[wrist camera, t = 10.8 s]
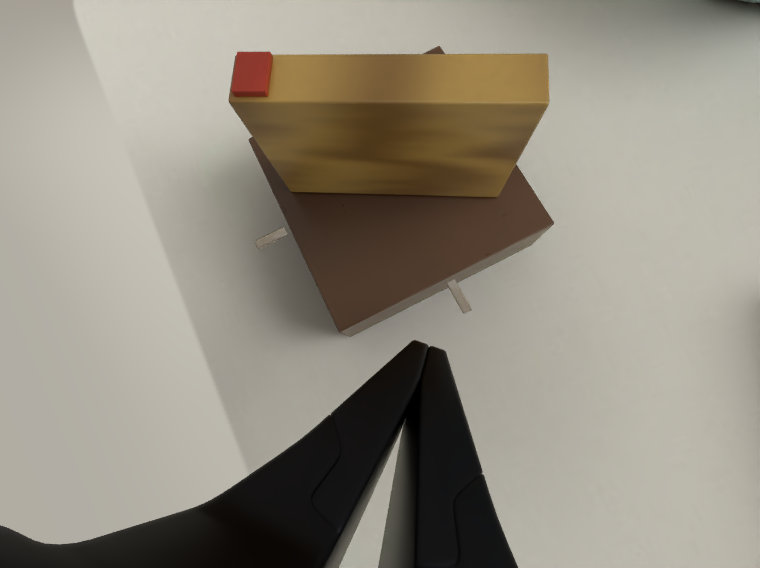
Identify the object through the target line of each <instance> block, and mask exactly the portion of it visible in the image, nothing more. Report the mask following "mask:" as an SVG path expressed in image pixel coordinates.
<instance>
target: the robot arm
mask: <svg viewBox="0 0 760 568" xmlns="http://www.w3.org/2000/svg"><path fill="white" fill-rule="evenodd" d="M403 424H404V425H403ZM402 426H403V429H402ZM401 429H402V434H401V439H400V445H399V450H398V456H397V462H396V468H395V474H394V479H393V485H392V491H391V497H390V502H389V508H388V514H387V520H386V526H385V531H384V537H383V543H382V549H381V554H380V560H379V566H378V568H518V566H517V564H516V561H515V559H514V557H513V554H512V552H511V550H510V547H509V545H508V542H507V540H506V537H505V535H504V532H503V530H502V527H501V525H500V522H499V520H498V517H497V514H496V511H495V508H494V505H493V502H492V499H491V496H490V494H489V490H488V487H487V484H486V480H485V477H484V475H483V474H482V468H481V465H480V461H479V458H478V455H477V452H476V448H475V445H474V442H473V439H472V435H471V432H470V429H469V426H468V423H467V419H466V416H465V413H464V410H463V406H462V403H461V400H460V397H459V393H458V390H457V387H456V384H455V380H454V377H453V374H452V371H451V367H450V364H449V361H448V358H447V354H446V352H445V351H444V350H442V349H439V348H436V347H433V346H430V347H428V345H427V344H425V343H422V342H419V341H416V340H413V341H412V342H410V343H409V344H408V345H407V346H406V347H405V348H404V349H403V350H402V351H400V352H399V353H398V354H397V355H396V356H395V357H394V358H393V359H391V360H390V361H389V362H388V363H387V364H386V365H385V366H384V367H382V368H381V369H380V370H379V371H378V372H377V373H376V374H375V375H373V376H372V377H371V378H370V379H369V380H368V381H367V382H366V383H365V384H363V385H362V386H361V387H360V388H359V389H358V390H357V391H356V392H354V393H353V394H352V395H351V396H350V397H349V398H348V399H347V400H345V401H344V402H343V403H342V404H341V405H340V406H339V407H338V408H337V409H335V410H334V411H333V412H332V413H331V415H328V416H327V417H326V418H325V419H324V420H323V421H322V422H321V423H319V424H318V425H317V426H316V427H315V428H314V429H312V430H311V431H310V432H309V433H308V434H306V435H305V436H304V437H303V438H302V439H300V440H299V441H297V442H296V443H295V444H293V445H292V446H291V447H289V448H288V449H286V450H285V451H284V452H282V453H281V454H279V455H278V456H277V457H275V458H274V459H272V460H271V461H269V462H268V463H266V464H265V465H263V466H262V467H260V468H259V469H258V470H256V471H255V472H253V473H252V474H250V475H249V476H247V477H246V478H245V479H243V480H241V481H240V482H239V483H237V484H236V485H234V486H233V487H231V488H230V489H228V490H227V491H225V492H224V493H222V494H220V495H219V496H217V497H215V498H214V499H212V500H210V501H208V502H206V503H204V504H201V505H199V506H197V507H194V508H191V509H188V510H185V511H182V512H179V513H176V514H172V515H169V516H166V517H162V518H159V519H156V520H152V521H149V522H146V523H143V524H140V525H136V526H133V527H130V528H127V529H123V530H120V531H117V532H114V533H111V534H107V535H104V536H101V537H97V538H94V539H91V540H87V541H82V542H78V543H71V544H61V545H58V544H44V543H41V542H37V541H34V540H32V539H30V538H28V537H26V536H24V535H22V534H20V533H18V532H15V531H13V530H11V529H9V528H6V527H3V526H0V568H339V566H340V564H341V561H342V559H343V557H344V555H345V553H346V550H347V548H348V546H349V544H350V542H351V539H352V537H353V535H354V533H355V531H356V528H357V526H358V524H359V522H360V520H361V517H362V515H363V513H364V511H365V509H366V506H367V504H368V502H369V500H370V498H371V495H372V493H373V491H374V489H375V487H376V484H377V482H378V480H379V478H380V476H381V473H382V471H383V469H384V467H385V465H386V462H387V460H388V458H389V456H390V454H391V451H392V449H393V447H394V445H395V443H396V440H397V438H398V436H399V434H400V431H401Z"/></svg>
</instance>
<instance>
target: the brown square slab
mask: <svg viewBox="0 0 760 568" xmlns="http://www.w3.org/2000/svg"><path fill="white" fill-rule="evenodd" d="M424 54H445V53H444V52H443V50H442V49H441V47H440V46H438V47H436V48H434V49H432V50H430V51H428V52H426V53H424ZM249 142H250V144H251V146H252V148H253V151H254V153H255V155H256V157H257V159H258V161H259V163H260V165H261V168H262V170H263V172H264V174H265V176H266V178H267V180H268V182H269V185H270V187H271V189H272V191H273V193H274V195H275V197H276V199H277V202H278V204H279V206H280V208H281V210H282V212H283V214H284V216H285V219H286V221H287V223H288V225H289V227H290V229H291V231H292V234H293V236H294V238H295V240H296V242H297V244H298V246H299V248H300V251H301V253H302V255H303V257H304V259H305V261H306V263H307V265H308V268H309V270H310V272H311V274H312V276H313V278H314V280H315V282H316V285H317V287H318V289H319V291H320V293H321V295H322V297H323V299H324V302H325V304H326V306H327V308H328V310H329V312H330V314H331V316H332V319H333V321H334V323H335V325H336V327H337V329H338V331H339V332H340V333H343V334H345V335H347V336H353V335H355V334H357V333H359V332H361V331H363V330H365V329H367V328H369V327H371V326H373V325H375V324H377V323H378V322H380V321H382V320H384V319H386V318H388V317H390V316H392V315H394V314H396V313H398V312H400V311H402V310H404V309H406V308H408V307H410V306H412V305H414V304H416V303H418V302H420V301H422V300H424V299H426V298H428V297H430V296H432V295H434V294H436V293H438V292H440V291H442V290H444V289H446V288H448V287H449V289H450V291H451V293H452V295H453V296H454V298H455V300H456V302H457V304H458V305H459V307H460V309H461V311H462V313H463V314H464V313H466V312H468V311H470V310H472V309H471V307H470V306H469V304H468V302H467V300H466V298H465V297H464V295H463V293H462V291H461V290H460V288H459V286H458V284H457V282H459V281H461V280H463V279H465V278H467V277H469V276H471V275H473V274H475V273H477V272H479V271H481V270H483V269H485V268H487V267H489V266H491V265H493V264H495V263H497V262H499V261H501V260H503V259H505V258H507V257H509V256H511V255H513V254H515V253H517V252H519V251H521V250H523V249H524V248H526V247H528V246H530V245H532V244H533V243H534V242H535V241H536V240H537V239H538V238H539V237H540V236H541V235H543V234H544V233H545V232H546V231H547V230H548V229H549V228H550V227H551V226H552V225H553V224H554V222H553V220H552V219H551V217H550V216H549V214H548V213H547V211H546V210H545V208H544V207H543V205H542V203H541V202H540V200H539V199H538V197H537V196H536V194H535V193H534V191H533V189H532V188H531V186H530V185H529V183H528V182H527V180H526V179H525V177H524V176H523V174H522V172H521V171H520V169H519V168H518V166H517V165H515V167H514V168H513V170H512V172H511V174H510V176H509V177H508V179H507V181H506V183H505V185H504V187H503V188H502V190H501V192H500V194H499V196H498V197H471V196H433V195H396V194H358V193H321V192H291V191H290V190H289V188H288V187H287V185H286V184H285V183H284V181H283V180H282V178H281V177H280V175H279V174H278V172H277V171H276V170H275V168H274V167H273V165H272V164H271V162H270V161H269V159H268V158H267V157H266V155H265V154H264V152H263V151H262V149H261V148H260V146H259V145H258V144H257V142H256V141H255V139H254V138H253V137H252V138H249ZM287 235H288V234H287V232H286V230H285V228H284V227H282V228H280V229H278V230H276V231H274V232H272V233H270V234H268V235H266V236H264V237H262V238H260V239H258V240H256V241H255V244H256V246H257V248H258V249H260V248H262V247H264V246H266V245H268V244H270V243H272V242H274V241H276V240H279V239H281V238H283V237H285V236H287Z"/></svg>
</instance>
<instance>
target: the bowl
mask: <svg viewBox="0 0 760 568" xmlns="http://www.w3.org/2000/svg"><path fill="white" fill-rule="evenodd" d="M740 1H745V2H751V3H760V0H740Z"/></svg>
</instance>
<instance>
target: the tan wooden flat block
mask: <svg viewBox="0 0 760 568" xmlns="http://www.w3.org/2000/svg"><path fill="white" fill-rule="evenodd" d="M229 103H230V105H231V106H232V107H233V109H234V110H235V112H236V113H237V115H238V116H239V118H240V119H241V120H242V122H243V123H244V125H245V126H246V128H247V129H248V131H249V132H250V133H251V135H252V136H253V138H254V139H255V141H256V142H257V144H258V145H259V146H260V148H261V149H262V151H263V152H264V154H265V155H266V157H267V158H268V159H269V161H270V162H271V164H272V165H273V167H274V168H275V170H276V171H277V172H278V174H279V175H280V177H281V178H282V180H283V181H284V183H285V184H286V185H287V187H288V188H289V190H290V191H291V192H321V193H358V194H396V195H433V196H471V197H498V196H499V194H500V192H501V190H502V188H503V187H504V185H505V183H506V181H507V179H508V177H509V176H510V174H511V172H512V170H513V168H514V167H515V165H516V163H517V161H518V159H519V158H520V156H521V154H522V152H523V150H524V148H525V147H526V145H527V143H528V141H529V139H530V138H531V136H532V134H533V132H534V130H535V129H536V127H537V125H538V123H539V121H540V119H541V118H542V116H543V114H544V112H545V110H546V109H547V107H548V105H549V73H548V55H547V54H354V55H272V54H271V52H237V55H236V56H235V62H234V68H233V75H232V81H231V88H230V94H229Z"/></svg>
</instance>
